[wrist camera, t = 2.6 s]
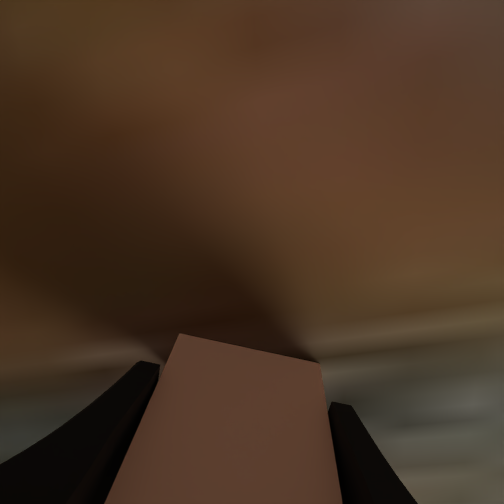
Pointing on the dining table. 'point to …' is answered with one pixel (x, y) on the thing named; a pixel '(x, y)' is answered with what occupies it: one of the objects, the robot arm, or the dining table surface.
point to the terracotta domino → (231, 432)
